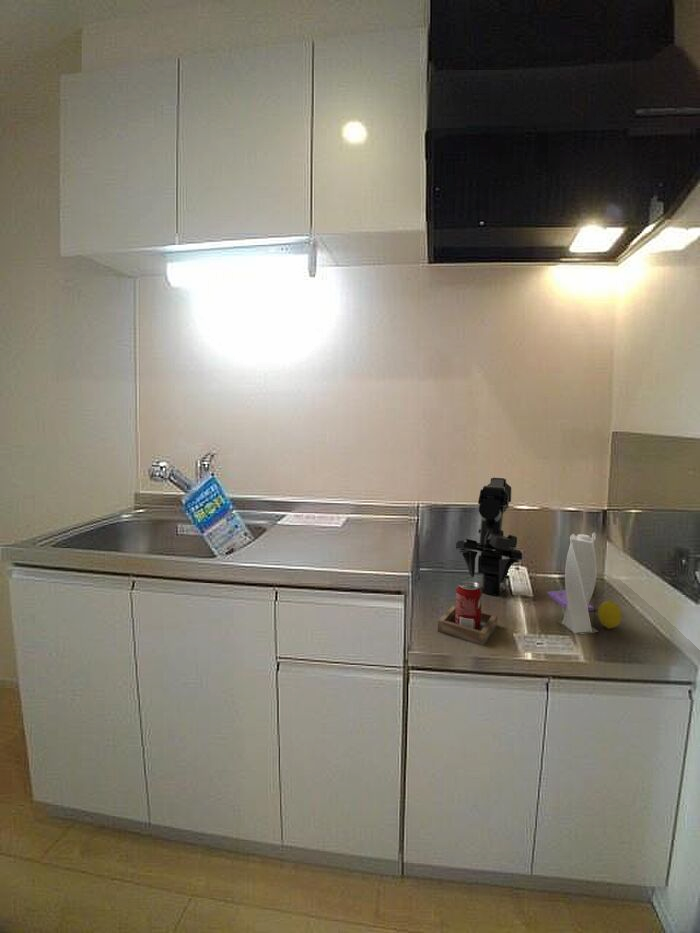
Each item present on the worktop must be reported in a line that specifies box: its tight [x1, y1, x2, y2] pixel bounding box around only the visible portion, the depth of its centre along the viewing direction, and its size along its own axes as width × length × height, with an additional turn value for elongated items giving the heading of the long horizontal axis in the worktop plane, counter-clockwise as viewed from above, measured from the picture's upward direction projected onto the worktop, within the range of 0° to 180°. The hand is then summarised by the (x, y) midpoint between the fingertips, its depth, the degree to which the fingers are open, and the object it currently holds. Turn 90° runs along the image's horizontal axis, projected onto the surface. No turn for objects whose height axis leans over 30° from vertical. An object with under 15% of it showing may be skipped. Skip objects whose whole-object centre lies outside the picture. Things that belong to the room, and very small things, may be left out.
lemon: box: [597, 600, 622, 629], centre depth 117 cm, size 6×6×8 cm
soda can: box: [455, 580, 483, 629], centre depth 117 cm, size 7×7×12 cm
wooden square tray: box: [437, 603, 498, 646], centre depth 117 cm, size 12×12×3 cm
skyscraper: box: [557, 531, 599, 635], centre depth 116 cm, size 8×8×28 cm
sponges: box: [547, 589, 594, 611], centre depth 133 cm, size 7×13×2 cm, turn 10°
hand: (486, 579), depth 124 cm, fingers open, 9 cm apart
